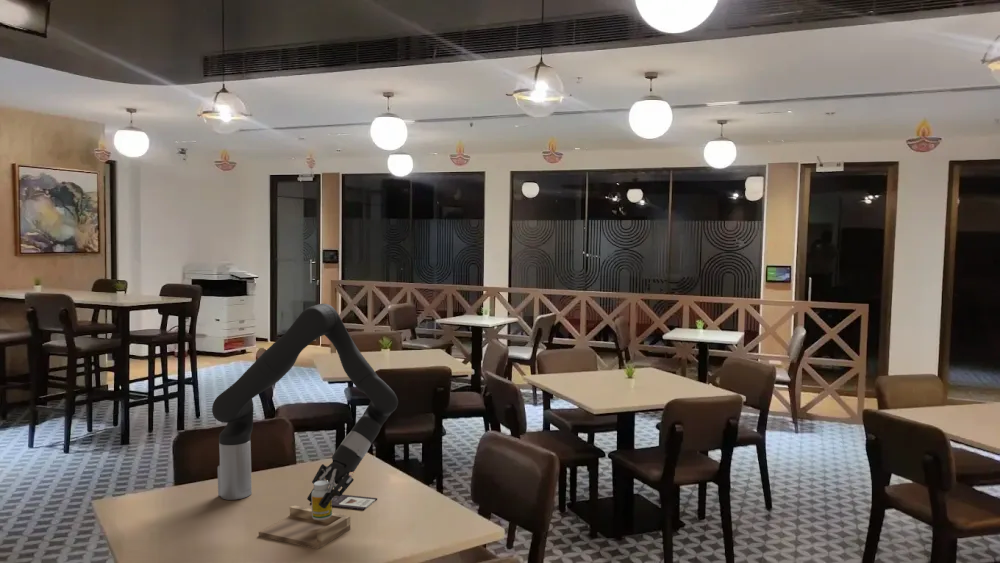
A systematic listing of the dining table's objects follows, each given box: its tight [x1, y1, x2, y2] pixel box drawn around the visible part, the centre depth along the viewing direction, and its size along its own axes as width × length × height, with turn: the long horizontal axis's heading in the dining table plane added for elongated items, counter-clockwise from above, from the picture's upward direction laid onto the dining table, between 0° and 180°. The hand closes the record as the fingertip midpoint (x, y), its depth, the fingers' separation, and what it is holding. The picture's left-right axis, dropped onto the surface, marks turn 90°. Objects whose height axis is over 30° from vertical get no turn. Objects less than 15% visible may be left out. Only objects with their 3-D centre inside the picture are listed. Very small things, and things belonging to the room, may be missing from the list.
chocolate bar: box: [309, 494, 378, 511], centre depth 216 cm, size 9×1×18 cm
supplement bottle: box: [310, 480, 333, 520], centre depth 193 cm, size 5×5×10 cm
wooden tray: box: [258, 505, 351, 550], centre depth 193 cm, size 20×14×4 cm
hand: (315, 503), depth 192 cm, fingers closed on supplement bottle, 5 cm apart
